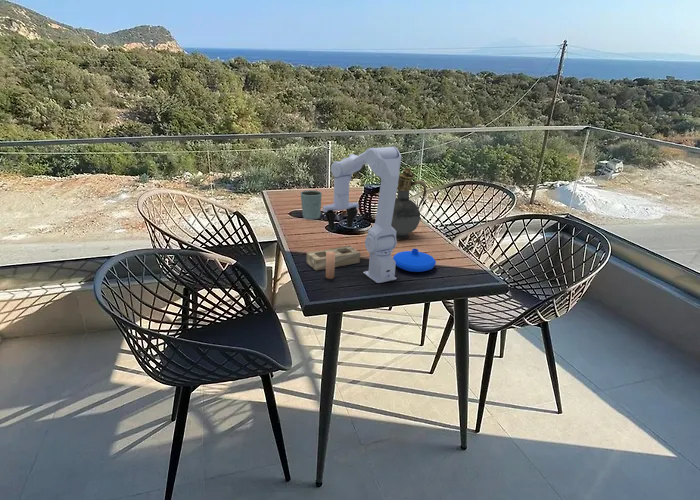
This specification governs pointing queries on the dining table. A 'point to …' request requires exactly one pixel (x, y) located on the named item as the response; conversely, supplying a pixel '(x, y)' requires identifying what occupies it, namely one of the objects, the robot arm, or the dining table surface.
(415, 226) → the pitcher
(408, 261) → the blue round knobbed lid
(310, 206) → the green cup
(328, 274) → the peg
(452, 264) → the dining table surface
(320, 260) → the hole block
